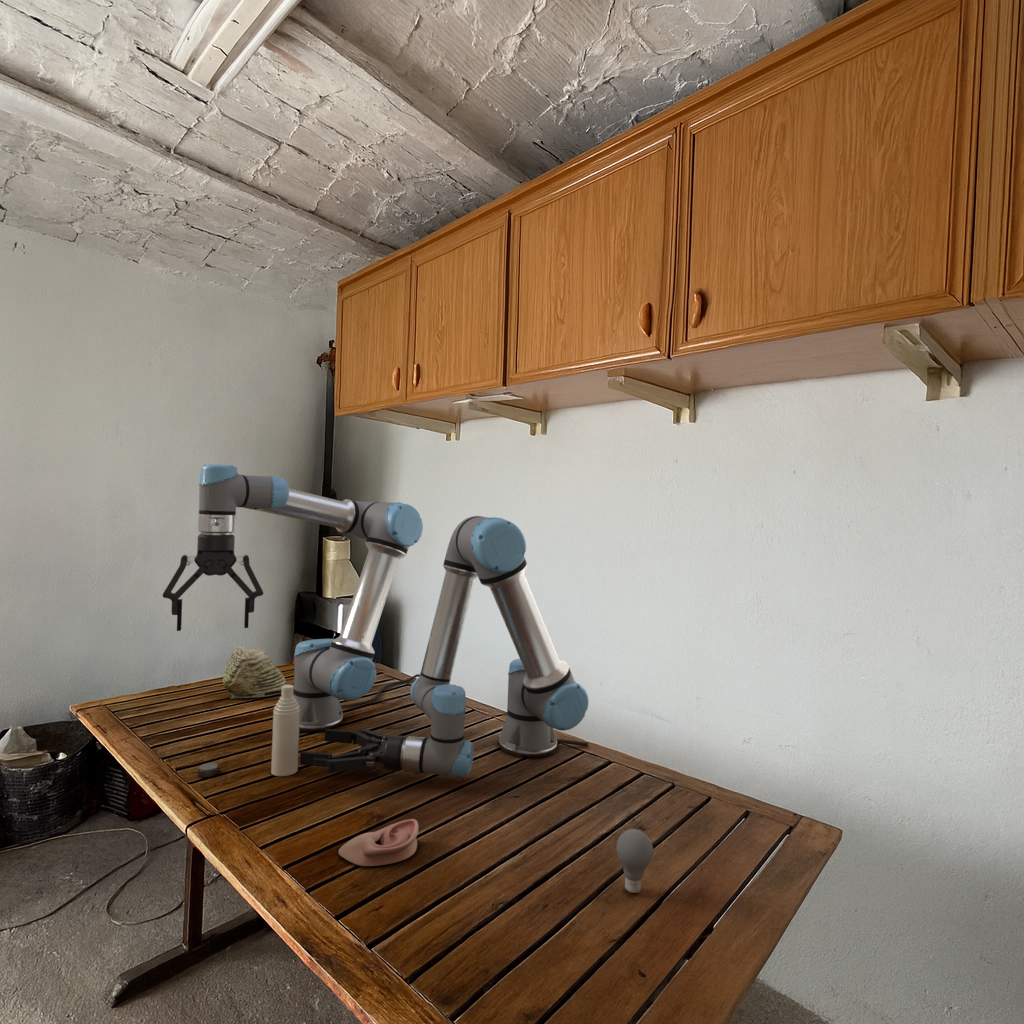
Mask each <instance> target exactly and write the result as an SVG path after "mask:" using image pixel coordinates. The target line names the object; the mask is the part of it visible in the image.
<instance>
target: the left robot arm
mask: <svg viewBox="0 0 1024 1024" xmlns="http://www.w3.org/2000/svg"><path fill="white" fill-rule="evenodd" d="M198 486H199V488H198V489H199V490H198V491H199V492H198V499H199V500H198V519H197V520H198V521H197V531H198V532H199V534H198V535H197V545H196V555H195V556H194V555H193V556H192V555H187V554H182V555H181V557H180V564H179V566H178V568H177V570H176V571H175V572H174V575H173V576H172V577H171V579H170V581H169V583H168V584H167V586H166V588H165V590H164V591H163V593H162V598H164V599H169V600H170V601H171V615H172V616H176V632H181V630H182V622H183V621H182V620H183V619H182V618H183V617H182V616H183V598H181V597H182V596H183V595H184V594H185V593H186V592H187V590H189V589H190V588H191V586H192V585H194V584H195V583H196V582H197V581H198V579H199V578H201V576H202V575H205V576H208V577H209V576H218V577H219V576H224V575H225V576H226V575H228V576H229V578H231V579H232V580H233V581H234V582H235V584H236V585H237V586H238V587H239V588H240V589H241V590H242V591H243V592H244V594H245V595H246V596H247V597H244V621H243V623H244V624H243V627H244V629H249V622H250V621H249V620H250V619H249V618H250V617H249V616H250V614H251V613H254V612H255V603H256V601H255V600H256V598H258V597H262V596H263V595H264V590H263V588H262V587H261V584H260V583H259V580H258V579H257V577H256V575H255V573H254V570H253V569H252V567H251V564H250V557H249V555H248V554H243V555H238V556H236V554H235V548H236V547H235V546H236V545H235V543H236V536H235V535H234V534H233V533H235V532H236V518H237V517H236V516H237V512H236V511H237V508H244V509H248V510H254V511H259V512H263V513H267V514H273V515H277V516H282V517H287V518H290V519H295V520H300V521H305V522H309V523H315V524H319V525H322V526H327V527H332V528H335V529H336V531H337V532H339V533H342V534H346V535H351V536H354V537H356V538H359V539H362V540H364V541H365V545H366V547H367V550H368V551H367V555H366V558H365V562H364V564H363V567H362V570H361V572H360V576H359V578H358V581H357V584H356V585H357V586H356V587H355V591H354V594H353V597H352V600H351V603H350V604H349V605H350V606H349V609H348V611H347V614H346V617H345V620H344V623H343V626H342V629H341V631H340V635H339V636H338V637H336V638H318V639H308V640H303V641H300V642H299V643H297V644H296V646H295V650H294V655H293V657H294V672H293V673H294V674H293V686H294V692H293V696H294V697H295V699H296V702H298V705H299V708H300V727H299V732H301V733H316V732H325V730H326V729H331V730H334V729H335V728H337V727H339V726H340V725H342V723H343V722H344V714H343V709H345V708H352V707H357V706H361V705H366V704H370V703H372V702H374V701H376V700H377V699H378V698H379V697H380V694H381V693H383V691H385V690H386V689H387V688H390V687H392V686H396V685H400V684H405V683H408V682H411V681H413V680H414V679H415V678H416V679H417V678H419V677H420V673H417V674H415V675H413V676H411V677H409V678H406V679H403V680H397V681H393V682H389V683H388V684H386V685H384V686H383V687H381V689H379V690H378V691H377V693H376V695H375V696H374V697H373V698H370V699H367V700H363V701H358V702H353V701H357V700H359V699H361V698H362V697H363V696H366V695H367V694H368V693H369V692H370V691H371V689H372V688H373V686H374V685H375V682H376V680H377V669H376V665H375V663H374V662H373V660H374V657H375V653H376V652H375V649H374V648H373V645H372V644H373V642H374V639H375V636H376V632H377V630H378V626H379V623H380V621H381V620H380V619H381V616H382V613H383V610H384V607H385V604H386V602H387V599H388V595H389V592H390V589H391V586H392V582H393V581H394V580H393V579H394V578H395V577H394V576H395V573H396V570H397V567H398V564H399V561H400V560H401V559H404V558H405V557H406V556H407V554H408V551H409V549H410V547H412V546H414V545H415V544H417V543H418V542H419V541H420V539H421V538H422V535H423V529H424V526H423V525H424V524H423V523H424V522H423V519H422V517H421V515H420V512H419V511H418V510H417V509H416V508H415V507H414V506H412V505H410V504H408V503H403V502H400V501H399V502H387V501H360V500H352V499H349V498H346V499H343V500H339V499H335V498H330V497H326V496H321V495H318V494H314V493H309V492H306V491H302V490H298V489H293V488H290V487H289V484H288V482H287V480H286V479H285V478H283V477H280V476H274V475H271V476H269V475H251V474H250V475H247V474H245V475H244V474H241V473H240V474H239V472H238V468H237V466H235V465H230V464H218V463H216V464H215V463H206V464H203V465H202V466H201V468H200V473H199V481H198ZM193 562H194V563H195V564H196V566H197V567H198V569H197V570H196V571H194V572H193V574H192V575H191V576H190V577H188V579H187V580H186V581H185V582H184V583H183V584H182V585H181V586H180V587H179V588H178V589H177V590H176V591H175V592H173V590H174V588H175V586H176V585H177V584H178V581H179V580H180V578H181V576H182V575H183V573H184V571H185V569H186V567H187V566H188V567H189V566H191V564H192V563H193ZM237 562H238V563H239V565H240V566H243V567H244V570H245V572H246V574H247V576H248V577H249V580H250V582H251V584H252V586H253V587H254V591H253V590H252V589H251V588H250V587H249V586H248V585H247V584H246V582H245V581H244V580H243V579H242V578H241V577H240V576H239V575H238V574H237V572H236V571H235V570H234V569H233V566H234V565H235V564H236V563H237ZM340 700H343V701H346V702H353V703H347V704H341V702H340Z"/></svg>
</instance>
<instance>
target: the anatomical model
mask: <svg viewBox="0 0 1024 1024" xmlns="http://www.w3.org/2000/svg"><path fill="white" fill-rule="evenodd" d="M418 834H419V822H418V820H417V819H415V818H410V819H409V818H408V819H403V820H401V821H398V822H394V823H391V824H390V825H387V826H385V827H383V828H380V829H377V830H375V831H369V832H365V833H362V834H359V835H357V836H355V837H353V838H351V839H350V840H348V841H347V842H346V843H344V844H343V845H342V846H341V847H340V848H339V849H338V852H337V853H338V855H339V856H340V857H341V858H343V859H344V860H346V861H347V862H349V863H352V864H354V865H356V866H359V867H376V866H384V865H391V864H395V863H398V862H402V861H404V860H407V859H408V858H410V857H411V856H413V855H414V854H415V853H416V851H417V849H418V839H417V836H418Z"/></svg>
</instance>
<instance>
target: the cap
mask: <svg viewBox="0 0 1024 1024" xmlns="http://www.w3.org/2000/svg"><path fill="white" fill-rule="evenodd" d="M218 772H219V765H218V763H216V762H207V763H203V764H201V765H199V767H198V776H199V777H200V778H212V777H215V776H216V775H218Z"/></svg>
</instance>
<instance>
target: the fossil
mask: <svg viewBox="0 0 1024 1024" xmlns="http://www.w3.org/2000/svg"><path fill="white" fill-rule="evenodd" d="M222 676H223V677H222V685H223V687H224V688H225V690H226V691H228V693H229V698H230V699H250V698H264V697H271V696H275V695H281V688H282V686H283V685H287V680H286V678H285V676H284V674H283V673H282V672H281V669H279V668H278V667H277V665H276V663H275V662H274V660H273V659H272V658H271V657H270V656H269V655H268V654H267V653H266V652H265V650H264V649H263V648H260V647H258V648H251V647H247V646H246V647H245V646H238V647H237V648H236V649H235V650H233V651H232V653H231V656H230V657H229V659H228V660H227V663H226V666H225V668H224V671H223V675H222Z"/></svg>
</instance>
